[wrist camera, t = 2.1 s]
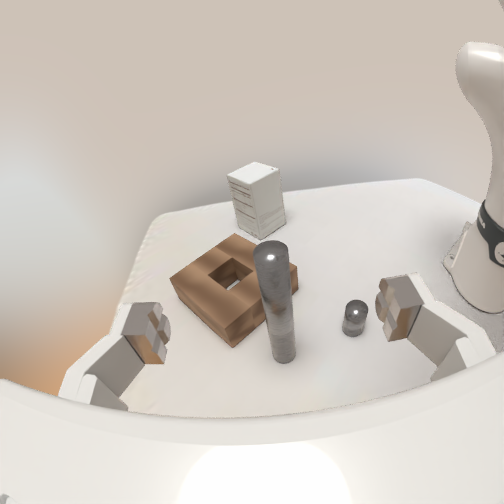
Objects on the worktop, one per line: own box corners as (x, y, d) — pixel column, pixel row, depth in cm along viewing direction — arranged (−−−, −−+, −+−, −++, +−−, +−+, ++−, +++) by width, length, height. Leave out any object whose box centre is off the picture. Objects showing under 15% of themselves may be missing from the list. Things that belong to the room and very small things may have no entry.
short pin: (349, 316, 37) (353, 296, 35) (366, 325, 36) (372, 306, 33) (338, 330, 36) (341, 311, 33) (355, 340, 34) (360, 322, 31)
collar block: (239, 254, 52) (234, 233, 48) (298, 289, 43) (296, 266, 40) (179, 298, 45) (169, 278, 42) (232, 348, 37) (224, 328, 33)
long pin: (283, 340, 36) (269, 236, 25) (300, 352, 35) (295, 249, 23) (268, 354, 35) (245, 254, 24) (284, 367, 33) (271, 269, 22)
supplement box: (263, 212, 62) (254, 160, 54) (286, 224, 57) (280, 168, 49) (237, 227, 59) (225, 174, 51) (260, 241, 54) (249, 183, 46)
